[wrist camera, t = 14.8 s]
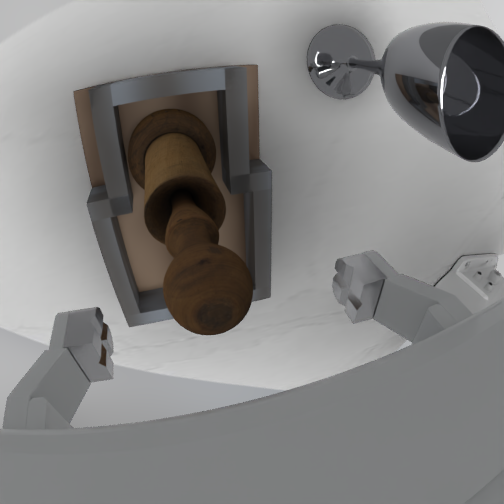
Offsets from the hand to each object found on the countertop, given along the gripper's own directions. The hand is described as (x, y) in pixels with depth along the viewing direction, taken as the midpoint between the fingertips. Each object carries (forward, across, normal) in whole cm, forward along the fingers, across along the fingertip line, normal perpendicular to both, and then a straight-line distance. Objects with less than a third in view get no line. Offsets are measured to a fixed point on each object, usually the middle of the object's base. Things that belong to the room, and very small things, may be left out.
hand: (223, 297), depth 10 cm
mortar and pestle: (+17, -1, 0) cm, 17 cm away
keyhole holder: (+18, 0, -4) cm, 18 cm away
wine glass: (+18, +15, +7) cm, 24 cm away
